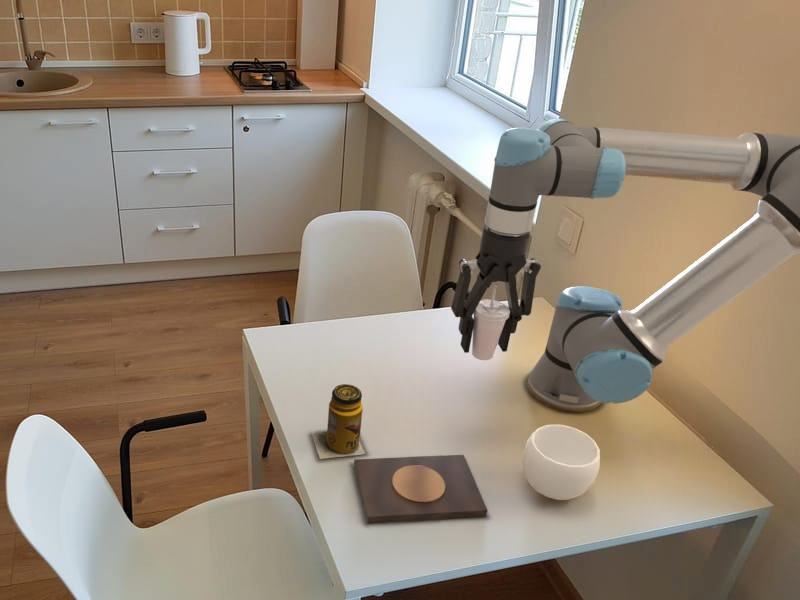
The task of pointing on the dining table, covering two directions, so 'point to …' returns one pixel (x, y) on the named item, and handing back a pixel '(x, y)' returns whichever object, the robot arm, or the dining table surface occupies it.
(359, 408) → the condiment
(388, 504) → the board
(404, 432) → the dining table surface
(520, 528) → the dining table surface
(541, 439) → the cup
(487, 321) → the smoothie
